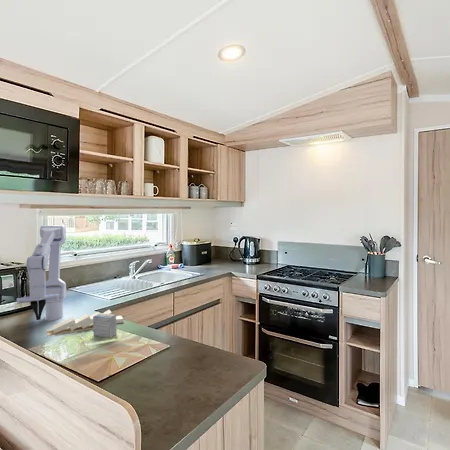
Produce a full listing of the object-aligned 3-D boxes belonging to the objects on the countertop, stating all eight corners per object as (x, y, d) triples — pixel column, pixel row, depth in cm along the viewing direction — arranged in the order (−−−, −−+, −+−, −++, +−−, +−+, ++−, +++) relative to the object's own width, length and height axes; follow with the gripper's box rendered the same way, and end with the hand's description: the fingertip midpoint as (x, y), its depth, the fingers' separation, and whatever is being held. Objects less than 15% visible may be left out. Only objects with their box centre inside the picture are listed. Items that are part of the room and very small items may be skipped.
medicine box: (117, 335, 135) (116, 314, 134) (110, 339, 130) (110, 317, 130) (100, 333, 137) (99, 312, 137) (93, 337, 133) (92, 316, 132)
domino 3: (79, 322, 144) (98, 311, 148) (81, 325, 144) (100, 314, 148) (81, 325, 140) (100, 314, 143) (83, 329, 140) (102, 317, 144)
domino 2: (68, 323, 142) (87, 313, 145) (70, 327, 142) (89, 316, 146) (69, 327, 137) (89, 316, 141) (71, 331, 138) (91, 319, 142)
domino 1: (52, 326, 139) (73, 316, 143) (53, 330, 139) (74, 320, 143) (52, 329, 134) (74, 319, 138) (54, 333, 135) (75, 323, 139)
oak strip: (46, 332, 139) (46, 330, 139) (106, 322, 151) (106, 320, 151) (47, 338, 132) (47, 336, 132) (110, 327, 144) (110, 325, 144)
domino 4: (91, 320, 146) (109, 309, 150) (92, 323, 147) (110, 312, 151) (92, 323, 142) (111, 312, 146) (94, 326, 143) (113, 315, 146)
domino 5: (101, 318, 149) (120, 315, 153) (101, 322, 149) (120, 319, 153) (103, 321, 144) (123, 318, 149) (103, 325, 144) (123, 322, 149)
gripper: (16, 289, 126) (16, 325, 127) (58, 285, 134) (59, 319, 134) (16, 286, 132) (17, 320, 133) (57, 282, 140) (57, 314, 140)
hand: (38, 319), depth 134 cm, fingers closed
